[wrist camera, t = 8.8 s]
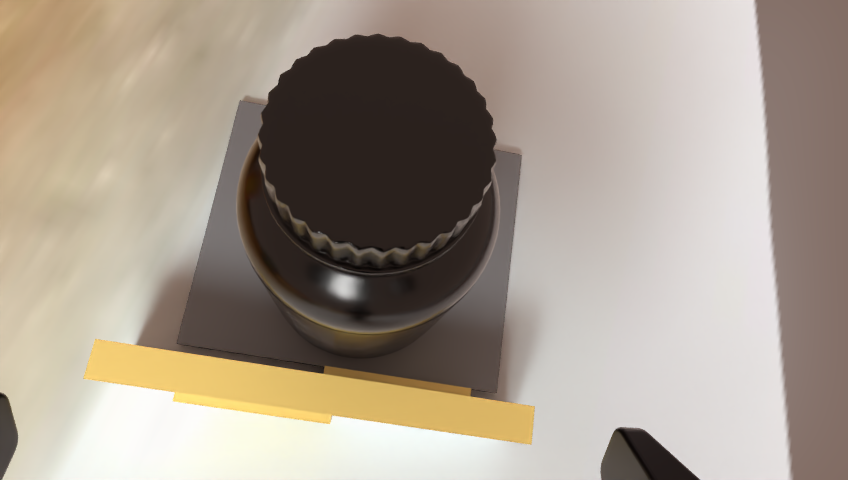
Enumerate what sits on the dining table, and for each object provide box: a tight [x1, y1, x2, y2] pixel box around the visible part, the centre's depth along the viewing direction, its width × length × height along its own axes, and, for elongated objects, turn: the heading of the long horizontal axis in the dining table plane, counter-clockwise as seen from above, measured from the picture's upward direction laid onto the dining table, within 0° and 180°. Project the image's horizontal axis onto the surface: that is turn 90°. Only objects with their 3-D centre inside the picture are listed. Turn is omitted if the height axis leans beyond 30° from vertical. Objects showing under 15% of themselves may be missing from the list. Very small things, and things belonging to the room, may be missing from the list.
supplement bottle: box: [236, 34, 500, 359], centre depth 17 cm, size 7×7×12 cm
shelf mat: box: [177, 101, 522, 393], centre depth 23 cm, size 10×12×1 cm
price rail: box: [83, 339, 535, 445], centre depth 20 cm, size 2×14×4 cm, turn 82°
